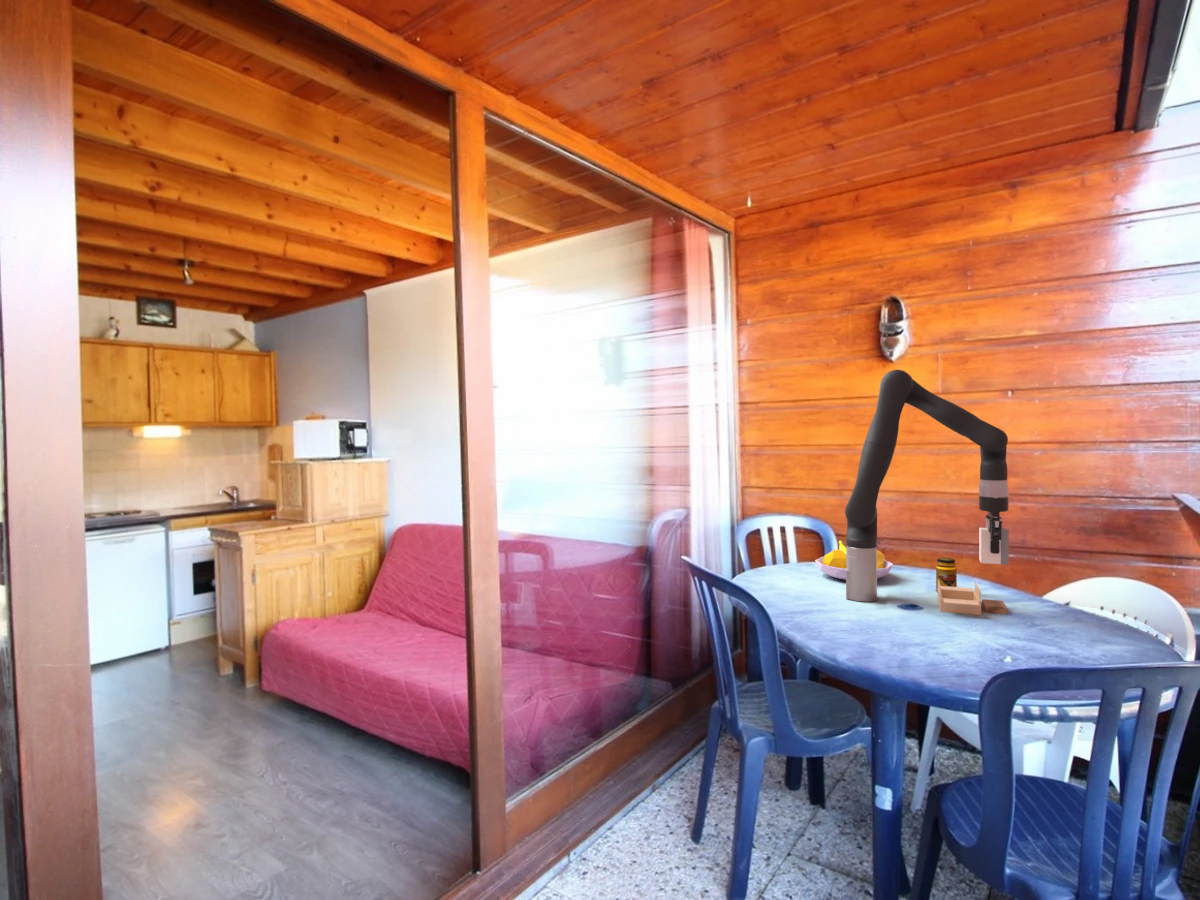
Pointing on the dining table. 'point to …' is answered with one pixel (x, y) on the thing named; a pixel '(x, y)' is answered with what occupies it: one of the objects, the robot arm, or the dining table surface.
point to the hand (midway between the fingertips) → (993, 551)
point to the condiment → (946, 572)
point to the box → (984, 548)
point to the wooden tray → (959, 599)
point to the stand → (994, 606)
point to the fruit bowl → (837, 563)
